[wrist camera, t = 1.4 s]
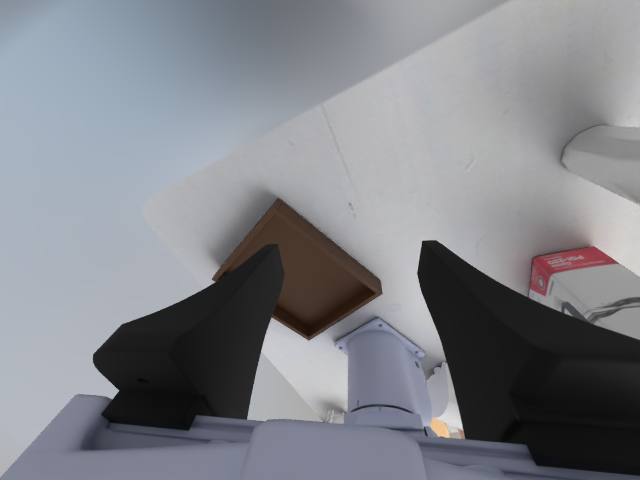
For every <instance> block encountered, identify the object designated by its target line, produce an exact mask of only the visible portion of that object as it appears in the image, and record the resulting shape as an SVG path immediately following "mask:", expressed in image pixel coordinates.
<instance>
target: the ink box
mask: <svg viewBox="0 0 640 480" xmlns="http://www.w3.org/2000/svg"><path fill="white" fill-rule="evenodd" d="M529 298H530V299H532V300H535V301H537V302H539V303H541V304H543V305H546V306H548V307H550V308H553V309H555V310H558V311H560V312H562V313H565V314H568V315H570V316H573V317H575V318H578V319H580V320H583V321H586V322H588V323H591V324H594V325H597V326H600V327H603V328H606V329H609V330H612V331H615V332H618V333H621V334H624V335H627V336H630V337H633V338H636V339H639V340H640V277H639V276H637V275H636V274H634V273H633V272H631V271H630V270H628V269H627V268H625V267H624V266H622V265H621V264H619V263H618V262H616V261H615V260H614V259H612V258H611V257H609V256H608V255H606V254H605V253H603V252H602V251H600V250H599V249H597V248H596V247H594V246H591V247H587V248H582V249H576V250H570V251H565V252H559V253H554V254H549V255H545V256H540V257H535V258H533V265H532V274H531V282H530V290H529Z"/></svg>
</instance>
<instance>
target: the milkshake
mask: <svg viewBox="0 0 640 480" xmlns="http://www.w3.org/2000/svg"><path fill="white" fill-rule="evenodd" d="M561 162H562V163H563V165H564V166H565V168H566V169H567V171H569V172H571V173H573V174H575V175H577V176H579V177H581V178H583V179H586V180H588V181H590V182H592V183H594V184H596V185H598V186H600V187H602V188H604V189H606V190H608V191H611V192H613V193H615V194H617V195H619V196H621V197H623V198H625V199H627V200H629V201H631V202H633V203H635V204H637V205H639V206H640V127H622V126H594V127H592V128H590V129H588V130H585V131H583V132H581V133H579V134H577V135H576V136H575V138H574V139H573V140H572V141H571V142H570V143H569V144H568V145H567V146H566V147H565V149H564V153H563V156H562V160H561Z"/></svg>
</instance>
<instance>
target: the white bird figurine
mask: <svg viewBox="0 0 640 480" xmlns="http://www.w3.org/2000/svg"><path fill="white" fill-rule="evenodd" d="M329 414H330V410H328V414H327V418H326V421H325V422H327V420H328V417H329ZM333 415H334V410H332V416H331V420H328V423H337V424H344V412H343V413H341V414H337V415H335V416H334V417H333Z"/></svg>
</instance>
